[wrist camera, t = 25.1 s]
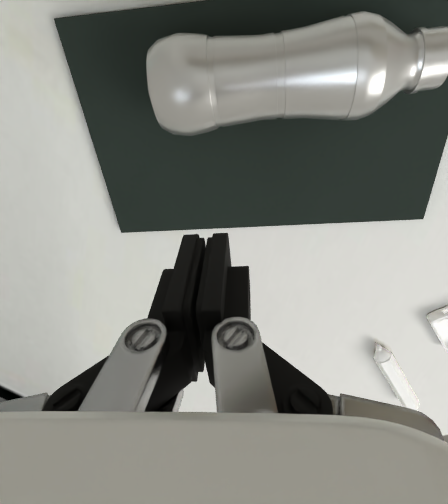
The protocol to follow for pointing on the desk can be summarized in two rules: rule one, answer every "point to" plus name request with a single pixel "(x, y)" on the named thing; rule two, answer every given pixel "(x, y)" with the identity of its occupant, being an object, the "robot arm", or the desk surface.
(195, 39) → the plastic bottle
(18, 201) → the desk surface
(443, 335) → the phone case
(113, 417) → the robot arm
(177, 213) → the mat
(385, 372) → the marker
